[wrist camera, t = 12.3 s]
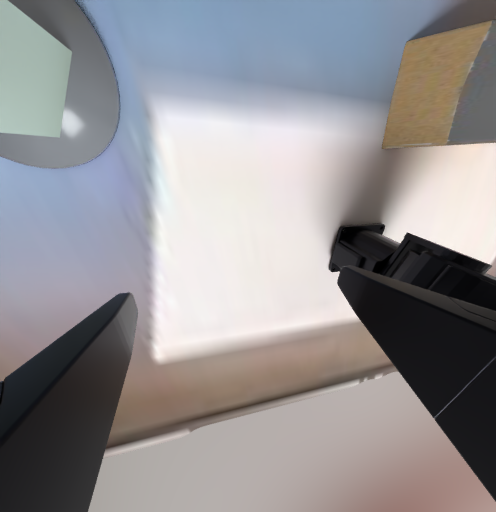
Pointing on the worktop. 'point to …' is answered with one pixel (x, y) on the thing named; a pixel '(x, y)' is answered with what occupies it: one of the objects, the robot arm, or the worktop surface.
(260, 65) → the worktop surface
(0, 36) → the pale green block
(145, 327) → the worktop surface
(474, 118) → the sandwich container
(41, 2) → the coaster
